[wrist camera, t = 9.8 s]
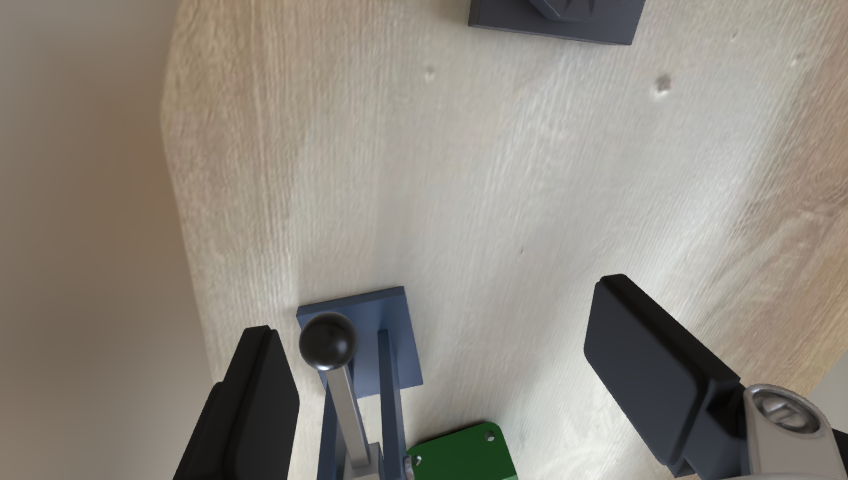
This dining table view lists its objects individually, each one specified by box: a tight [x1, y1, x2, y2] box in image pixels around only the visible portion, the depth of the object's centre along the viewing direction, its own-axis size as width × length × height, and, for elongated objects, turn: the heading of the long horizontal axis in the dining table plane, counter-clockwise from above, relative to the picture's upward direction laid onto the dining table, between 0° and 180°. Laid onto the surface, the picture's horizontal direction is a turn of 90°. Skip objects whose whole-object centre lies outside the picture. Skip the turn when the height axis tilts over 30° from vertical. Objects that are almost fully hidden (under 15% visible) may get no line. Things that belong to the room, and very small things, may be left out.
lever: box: [299, 312, 385, 480], centre depth 22 cm, size 13×3×3 cm, turn 8°
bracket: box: [296, 286, 423, 480], centre depth 28 cm, size 11×9×14 cm
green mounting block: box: [406, 422, 518, 480], centre depth 41 cm, size 12×6×9 cm, turn 101°
